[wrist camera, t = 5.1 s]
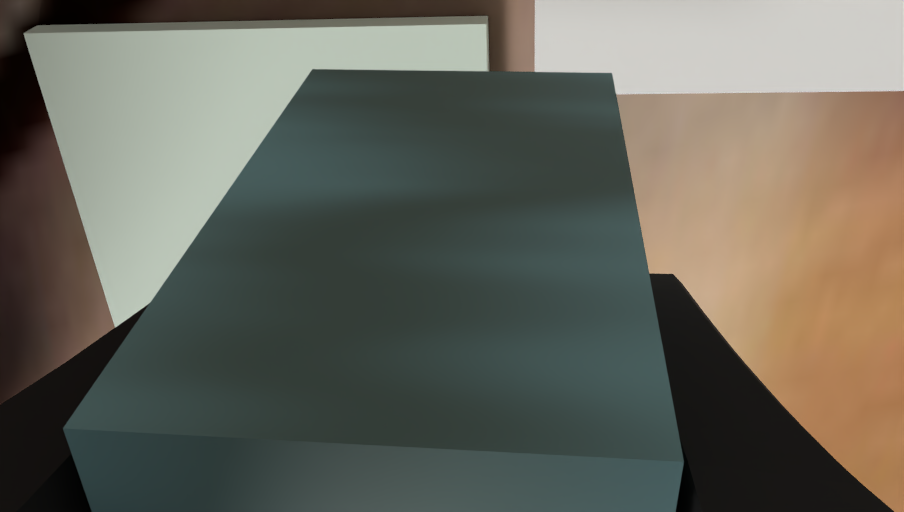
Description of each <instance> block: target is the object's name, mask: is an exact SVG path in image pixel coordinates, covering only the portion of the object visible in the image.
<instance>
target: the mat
mask: <svg viewBox="0 0 904 512" xmlns="http://www.w3.org/2000/svg"><path fill="white" fill-rule="evenodd" d="M23 34H24V37H25V40H26V43H27V47H28V50H29V53H30V56H31V60H32V63H33V66H34V69H35V72H36V76H37V79H38V82H39V85H40V88H41V92H42V95H43V98H44V101H45V104H46V108H47V111H48V114H49V117H50V120H51V124H52V127H53V130H54V133H55V136H56V140H57V143H58V146H59V149H60V152H61V156H62V159H63V162H64V165H65V168H66V172H67V175H68V178H69V181H70V184H71V188H72V191H73V194H74V197H75V200H76V204H77V207H78V210H79V213H80V216H81V220H82V223H83V226H84V229H85V232H86V236H87V239H88V242H89V245H90V248H91V252H92V255H93V258H94V261H95V265H96V268H97V271H98V274H99V277H100V281H101V284H102V287H103V290H104V293H105V297H106V300H107V303H108V306H109V309H110V313H111V316H112V319H113V322H114V325H115V327H117V326H118V325H120V324H121V323H123V322H124V321H125V320H127V319H128V318H130V317H131V316H132V315H134V314H135V313H137V312H138V311H139V310H141V309H142V308H144V307H145V306H146V305H148V304H149V303H150V302H151V301H152V299H153V298H154V296H155V295H156V294H157V292H158V291H159V289H160V288H161V286H162V285H163V284H164V282H165V281H166V279H167V278H168V276H169V275H170V273H171V272H172V271H173V269H174V268H175V266H176V265H177V263H178V262H179V260H180V259H181V258H182V256H183V255H184V253H185V252H186V250H187V249H188V247H189V246H190V245H191V243H192V242H193V240H194V239H195V237H196V236H197V235H198V233H199V232H200V230H201V229H202V227H203V226H204V224H205V223H206V222H207V220H208V219H209V217H210V216H211V214H212V213H213V211H214V210H215V209H216V207H217V206H218V204H219V203H220V201H221V200H222V199H223V197H224V196H225V194H226V193H227V191H228V190H229V188H230V187H231V186H232V184H233V183H234V181H235V180H236V178H237V177H238V175H239V174H240V173H241V171H242V170H243V168H244V167H245V165H246V164H247V163H248V161H249V160H250V158H251V157H252V155H253V154H254V152H255V151H256V150H257V148H258V147H259V145H260V144H261V142H262V141H263V139H264V138H265V137H266V135H267V134H268V132H269V131H270V129H271V128H272V127H273V125H274V124H275V122H276V121H277V119H278V118H279V116H280V115H281V114H282V112H283V111H284V109H285V108H286V106H287V105H288V103H289V102H290V101H291V99H292V98H293V96H294V95H295V93H296V92H297V91H298V89H299V88H300V86H301V85H302V83H303V82H304V80H305V79H306V78H307V76H308V75H309V73H310V72H311V70H312V69H343V70H422V71H489V36H488V16H450V17H403V18H356V19H309V20H263V21H216V22H169V23H122V24H75V25H37V26H35V27H34V28H32V29H30V30H28V31H27V32H25V33H23Z"/></svg>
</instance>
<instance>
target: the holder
mask: <svg viewBox="0 0 904 512" xmlns="http://www.w3.org/2000/svg"><path fill="white" fill-rule="evenodd" d="M535 72H580V73H612V75H613V81H614V86H615V92H616V94H677V93H764V92H851V91H904V0H535Z"/></svg>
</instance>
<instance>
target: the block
mask: <svg viewBox="0 0 904 512" xmlns="http://www.w3.org/2000/svg"><path fill="white" fill-rule="evenodd" d="M63 430H64V433H65V436H66V439H67V442H68V445H69V448H70V451H71V453H72V456H73V459H74V462H75V465H76V468H77V471H78V474H79V476H80V479H81V482H82V485H83V488H84V491H85V494H86V497H87V499H88V502H89V505H90V508H91V511H92V512H676V506H677V500H678V494H679V488H680V482H681V476H682V470H683V464H684V460H683V454H682V449H681V443H680V438H679V433H678V427H677V422H676V416H675V411H674V406H673V400H672V395H671V389H670V384H669V378H668V373H667V368H666V362H665V357H664V351H663V346H662V341H661V335H660V330H659V324H658V319H657V314H656V308H655V303H654V297H653V292H652V286H651V281H650V276H649V270H648V265H647V259H646V254H645V249H644V243H643V238H642V232H641V227H640V222H639V216H638V211H637V205H636V200H635V194H634V189H633V184H632V178H631V173H630V167H629V162H628V157H627V151H626V146H625V140H624V135H623V130H622V124H621V119H620V113H619V108H618V102H617V97H616V92H615V86H614V81H613V75H612V73H580V72H501V71H422V70H343V69H312V70H311V72H310V73H309V75H308V76H307V78H306V79H305V80H304V82H303V83H302V85H301V86H300V88H299V89H298V91H297V92H296V93H295V95H294V96H293V98H292V99H291V101H290V102H289V103H288V105H287V106H286V108H285V109H284V111H283V112H282V114H281V115H280V116H279V118H278V119H277V121H276V122H275V124H274V125H273V127H272V128H271V129H270V131H269V132H268V134H267V135H266V137H265V138H264V139H263V141H262V142H261V144H260V145H259V147H258V148H257V150H256V151H255V152H254V154H253V155H252V157H251V158H250V160H249V161H248V163H247V164H246V165H245V167H244V168H243V170H242V171H241V173H240V174H239V175H238V177H237V178H236V180H235V181H234V183H233V184H232V186H231V187H230V188H229V190H228V191H227V193H226V194H225V196H224V197H223V199H222V200H221V201H220V203H219V204H218V206H217V207H216V209H215V210H214V211H213V213H212V214H211V216H210V217H209V219H208V220H207V222H206V223H205V224H204V226H203V227H202V229H201V230H200V232H199V233H198V235H197V236H196V237H195V239H194V240H193V242H192V243H191V245H190V246H189V247H188V249H187V250H186V252H185V253H184V255H183V256H182V258H181V259H180V260H179V262H178V263H177V265H176V266H175V268H174V269H173V271H172V272H171V273H170V275H169V276H168V278H167V279H166V281H165V282H164V284H163V285H162V286H161V288H160V289H159V291H158V292H157V294H156V295H155V296H154V298H153V299H152V301H151V302H150V304H149V305H148V307H147V308H146V309H145V311H144V312H143V314H142V315H141V317H140V318H139V320H138V321H137V322H136V324H135V325H134V327H133V328H132V330H131V331H130V332H129V334H128V335H127V337H126V338H125V340H124V341H123V343H122V344H121V345H120V347H119V348H118V350H117V351H116V353H115V354H114V356H113V357H112V358H111V360H110V361H109V363H108V364H107V366H106V367H105V368H104V370H103V371H102V373H101V374H100V376H99V377H98V379H97V380H96V381H95V383H94V384H93V386H92V387H91V389H90V390H89V392H88V393H87V394H86V396H85V397H84V399H83V400H82V402H81V403H80V404H79V406H78V407H77V409H76V410H75V412H74V413H73V415H72V416H71V417H70V419H69V420H68V422H67V423H66V425H65V426H64V428H63Z"/></svg>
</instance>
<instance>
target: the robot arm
mask: <svg viewBox="0 0 904 512" xmlns="http://www.w3.org/2000/svg"><path fill="white" fill-rule="evenodd" d="M649 276H650V281H651V286H652V292H653V297H654V303H655V308H656V314H657V319H658V324H659V330H660V335H661V341H662V346H663V351H664V357H665V362H666V368H667V373H668V378H669V384H670V389H671V395H672V400H673V406H674V411H675V416H676V422H677V427H678V433H679V438H680V443H681V449H682V454H683V460H684V464H683V470H682V476H681V482H680V488H679V494H678V500H677V506H676V512H894V511H893V510H892V509H890V508H889V507H888V506H887V505H886V504H885V503H883V502H882V501H881V500H880V499H879V498H877V497H876V496H875V495H874V494H873V493H872V492H870V491H869V490H868V489H867V488H866V487H865V486H863V485H862V484H861V483H860V482H859V481H858V480H857V479H856V478H855V477H854V476H852V475H851V474H850V473H849V472H848V471H847V470H846V469H845V468H844V467H843V466H842V465H841V464H839V463H838V462H837V461H836V460H835V459H834V458H833V457H832V456H831V455H830V454H829V453H828V452H827V451H826V450H825V449H824V448H823V447H822V446H821V445H820V444H819V443H818V442H817V441H816V440H815V439H814V438H813V437H812V436H811V435H810V434H809V433H808V432H807V431H806V430H805V429H804V428H803V427H802V426H801V425H800V424H799V422H798V421H797V420H796V419H795V418H794V417H793V416H792V415H791V414H790V413H789V412H788V411H787V410H786V409H785V408H784V407H783V405H782V404H781V403H780V402H779V401H778V400H777V399H776V398H775V397H774V395H773V394H772V393H771V392H770V391H769V390H768V389H767V388H766V386H765V385H764V384H763V383H762V382H761V381H760V380H759V379H758V377H757V376H756V375H755V374H754V373H753V372H752V371H751V370H750V368H749V367H748V366H747V365H746V364H745V363H744V362H743V360H742V359H741V358H740V357H739V356H738V354H737V353H736V352H735V351H734V350H733V348H732V347H731V346H730V345H729V343H728V342H727V341H726V340H725V339H724V337H723V336H722V335H721V334H720V332H719V331H718V330H717V329H716V327H715V326H714V325H713V324H712V322H711V321H710V320H709V318H708V317H707V316H706V315H705V313H704V312H703V311H702V309H701V308H700V307H699V305H698V304H697V303H696V302H695V300H694V299H693V298H692V296H691V295H690V294H689V292H688V291H687V290H686V288H685V287H684V286H683V284H682V283H681V282H680V281H679V280H678V279H677V278H676V277H675V276H674V275H673V274H649ZM149 304H150V303H149ZM149 304H148V305H149ZM148 305H146V306H145V307H144V308H142V309H141V310H139V311H138V312H137V313H135V314H134V315H132V316H131V317H130V318H128V319H127V320H125V321H124V322H123V323H121V324H120V325H118V326H117V327H115V328H114V329H113V330H111V331H110V332H108V333H107V334H106V335H104V336H103V337H101V338H100V339H98V340H97V341H96V342H94V343H93V344H91V345H90V346H89V347H87V348H86V349H84V350H83V351H81V352H80V353H79V354H77V355H76V356H74V357H73V358H71V359H70V360H69V361H67V362H66V363H64V364H63V365H61V366H60V367H58V368H57V369H55V370H53V371H52V372H50V373H49V374H47V375H46V376H44V377H43V378H41V379H40V380H38V381H36V382H35V383H33V384H32V385H30V386H29V387H27V388H26V389H24V390H23V391H21V392H19V393H18V394H16V395H15V396H13V397H12V398H10V399H9V400H7V401H6V402H4V403H3V404H1V405H0V512H92V511H91V508H90V505H89V502H88V499H87V497H86V494H85V491H84V488H83V485H82V482H81V479H80V476H79V474H78V471H77V468H76V465H75V462H74V459H73V456H72V453H71V451H70V448H69V445H68V442H67V439H66V436H65V433H64V430H63V428H64V426H65V425H66V423H67V422H68V420H69V419H70V417H71V416H72V415H73V413H74V412H75V410H76V409H77V407H78V406H79V404H80V403H81V402H82V400H83V399H84V397H85V396H86V394H87V393H88V392H89V390H90V389H91V387H92V386H93V384H94V383H95V381H96V380H97V379H98V377H99V376H100V374H101V373H102V371H103V370H104V368H105V367H106V366H107V364H108V363H109V361H110V360H111V358H112V357H113V356H114V354H115V353H116V351H117V350H118V348H119V347H120V345H121V344H122V343H123V341H124V340H125V338H126V337H127V335H128V334H129V332H130V331H131V330H132V328H133V327H134V325H135V324H136V322H137V321H138V320H139V318H140V317H141V315H142V314H143V312H144V311H145V309H146V308H147V307H148Z"/></svg>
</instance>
